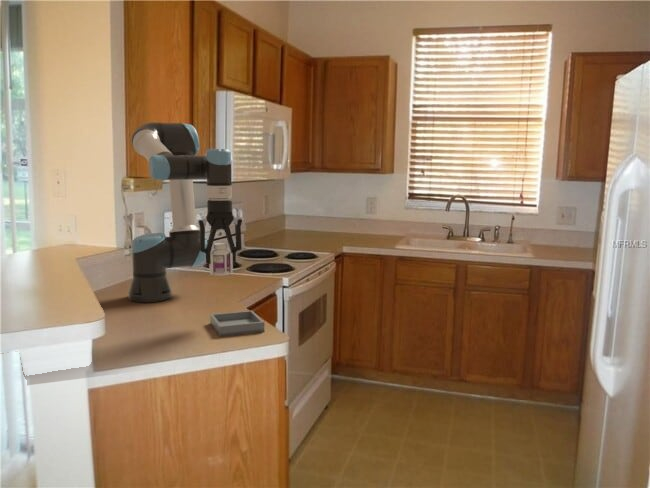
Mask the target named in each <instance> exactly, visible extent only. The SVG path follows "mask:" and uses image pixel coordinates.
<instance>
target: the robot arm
mask: <svg viewBox="0 0 650 488" xmlns="http://www.w3.org/2000/svg"><path fill="white" fill-rule="evenodd" d="M131 135H132V136H131V138H130V139H131V141H130V142H131V146H132V148H133V149H134V152H135V153H137V154H138V155H140V156H142V157H144V158H145V159H146V160H147V162H148V174H149V176H150V178H151V179H153V180H161V181H167V180H168V182H169V195H170V205H171V218H172V228H171V229H170V230H169V232H168V233H169V235H168V236H166V234H165V233H164V232H158V233H157V232H153V233H152V232H151V233H147V234H146V233H145V234H142V235H138V236H136V237H134V238H133V240H132V242H131V244H132V245H131V256H132V281H131V285H130V287H129V290H128V300H129V301H131V302H135V303H157V302H162V301H166V300H169V299H171V298H172V296H173V295H172V294H173V292H172V291H173V290H172V287H171V286H170V283H169V280H168V277H167V269H177V268H189V267H190V268H191V267H196V266H201V265H202V264H204V262H205V263H206V264H207V265H208V267H209V268H208V269H209V274H210V275H211V276H215V275H214V273H213V254H212V248H213V246H214V241H215V236H216V233H217V231H219V230H224V233H225V237H226V239H227V243H228V247H229V250H230V251H229V259H230V273H229V275H231V274H233V273H234V266H233V265H234V263H236V262H237V257H236V256H237V255H236V254H237V252H238V251H242V228H241V226H242V224H243V220H242V219H241V218H237V217H234V214H233V200H231V199H232V198H233V193H232V192H233V191H232V190H233V189H232V188H233V187H232V185H233V184H232V180H233V179H232V178H233V177H232V163H233V160H232V153H231V152H232V151H230V150H231V149H228V148H209V149H207V150H206V152H205V153H206V155H198V154H199V152H200V138H199V135H198V131H197V130H196V128H195V127H194V126H193V125H192V124H188V123H182V122H179V123H178V122H158V121H154V122H153V121H152V122H146V123H144V124H142V125H140V126H138V127H137V128H136V129H135V130H134V131H133V133H132V134H131ZM194 180H204V181H205V180H206V198H207V199H208V200H207V201H206V202H207V203H206V204H207V205H206V206H207V213H206V214H207V215H206V217H205V218H203V219H198V220H197V219H196V218H197V217H196V216H197V215H196V207H195V206H196V204H195V194H194V182H193V181H194ZM207 222H208V224H209V225H210V231H209V234H208V239H207V237H206V226H207ZM232 223H233V225H234V230H235V231H234V233H235V236H234V237H235V242H234V240H233V236H232V232H231V229H230V226H231V224H232ZM197 224H198V226H199V227H198V226H197Z"/></svg>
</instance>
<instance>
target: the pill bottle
mask: <svg viewBox="0 0 650 488" xmlns="http://www.w3.org/2000/svg"><path fill="white" fill-rule="evenodd" d="M227 248H228V244H227V243H223V242H222V243H220V242H219V243H218V242H216V243H213V249H214V250H213V251H211V253H212V254H213V273H214V275H213V276H222V277H223V276H228V275H230V259H229V252H230V251H229V250H228V249H227Z"/></svg>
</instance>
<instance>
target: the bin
mask: <svg viewBox="0 0 650 488" xmlns="http://www.w3.org/2000/svg"><path fill="white" fill-rule="evenodd" d="M209 319H210V320H209V321H210V323H209V324H210V325H211V326H212V328H213V330H215V332H216V333H217V335H218V336H219V337H229V336H236V335H237V336H238V335H239V336H240V335H246V334H256V332H258V333H264V332H265V321H264V320H263V319H262V318H261V317H260V316H259V315H258V314H257V313H255V312H254V310H244V311H234V312H231V311H230V312H223V313H222V312H221V313H212V314H211V313H210V315H209ZM263 331H264V332H263Z"/></svg>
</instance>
